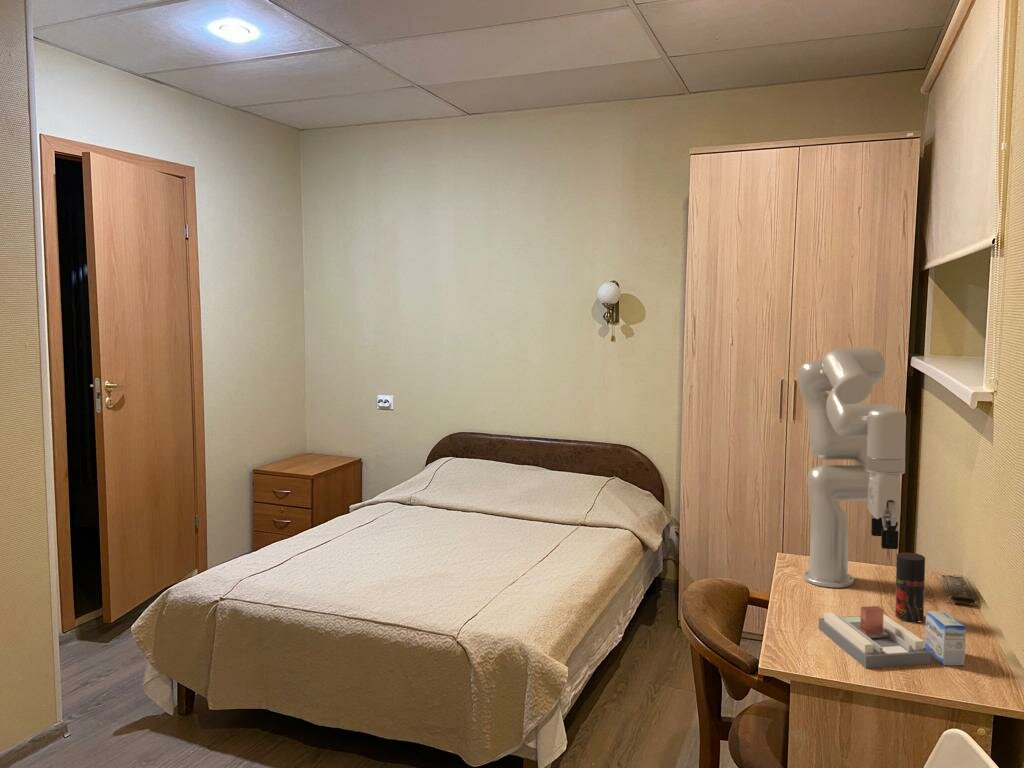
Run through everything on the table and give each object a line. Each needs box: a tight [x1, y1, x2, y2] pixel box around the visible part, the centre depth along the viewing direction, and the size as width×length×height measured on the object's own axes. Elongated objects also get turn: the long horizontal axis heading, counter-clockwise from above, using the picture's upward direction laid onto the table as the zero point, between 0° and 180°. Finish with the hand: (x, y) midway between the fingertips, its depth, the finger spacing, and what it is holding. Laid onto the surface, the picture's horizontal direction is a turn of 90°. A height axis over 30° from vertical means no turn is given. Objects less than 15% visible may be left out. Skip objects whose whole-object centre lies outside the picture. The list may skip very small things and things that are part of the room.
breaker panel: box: [818, 612, 932, 669], centre depth 168 cm, size 20×14×4 cm
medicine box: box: [924, 610, 967, 666], centre depth 162 cm, size 8×4×9 cm, turn 178°
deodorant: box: [894, 551, 926, 623], centre depth 182 cm, size 6×6×15 cm
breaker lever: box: [855, 605, 889, 638], centre depth 168 cm, size 5×5×6 cm
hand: (884, 541), depth 169 cm, fingers open, 9 cm apart
